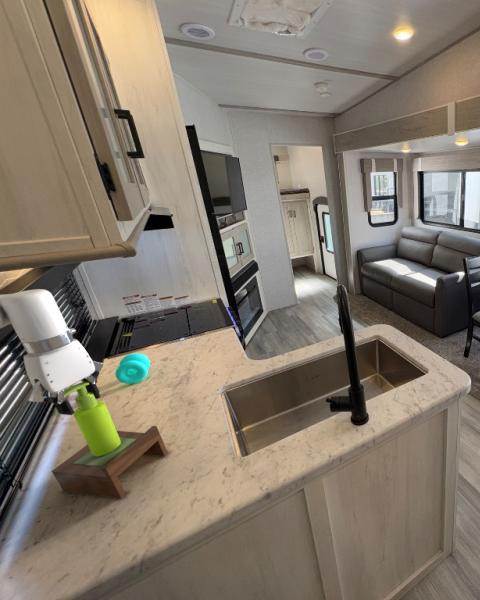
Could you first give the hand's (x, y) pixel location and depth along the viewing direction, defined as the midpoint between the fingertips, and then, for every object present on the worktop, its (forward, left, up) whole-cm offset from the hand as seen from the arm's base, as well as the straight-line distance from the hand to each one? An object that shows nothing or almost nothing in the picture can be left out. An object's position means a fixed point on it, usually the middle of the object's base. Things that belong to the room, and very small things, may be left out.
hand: (81, 405), depth 78 cm
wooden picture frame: (+1, 0, -23) cm, 23 cm away
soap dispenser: (0, 0, -15) cm, 15 cm away
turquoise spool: (-38, +41, -23) cm, 60 cm away
